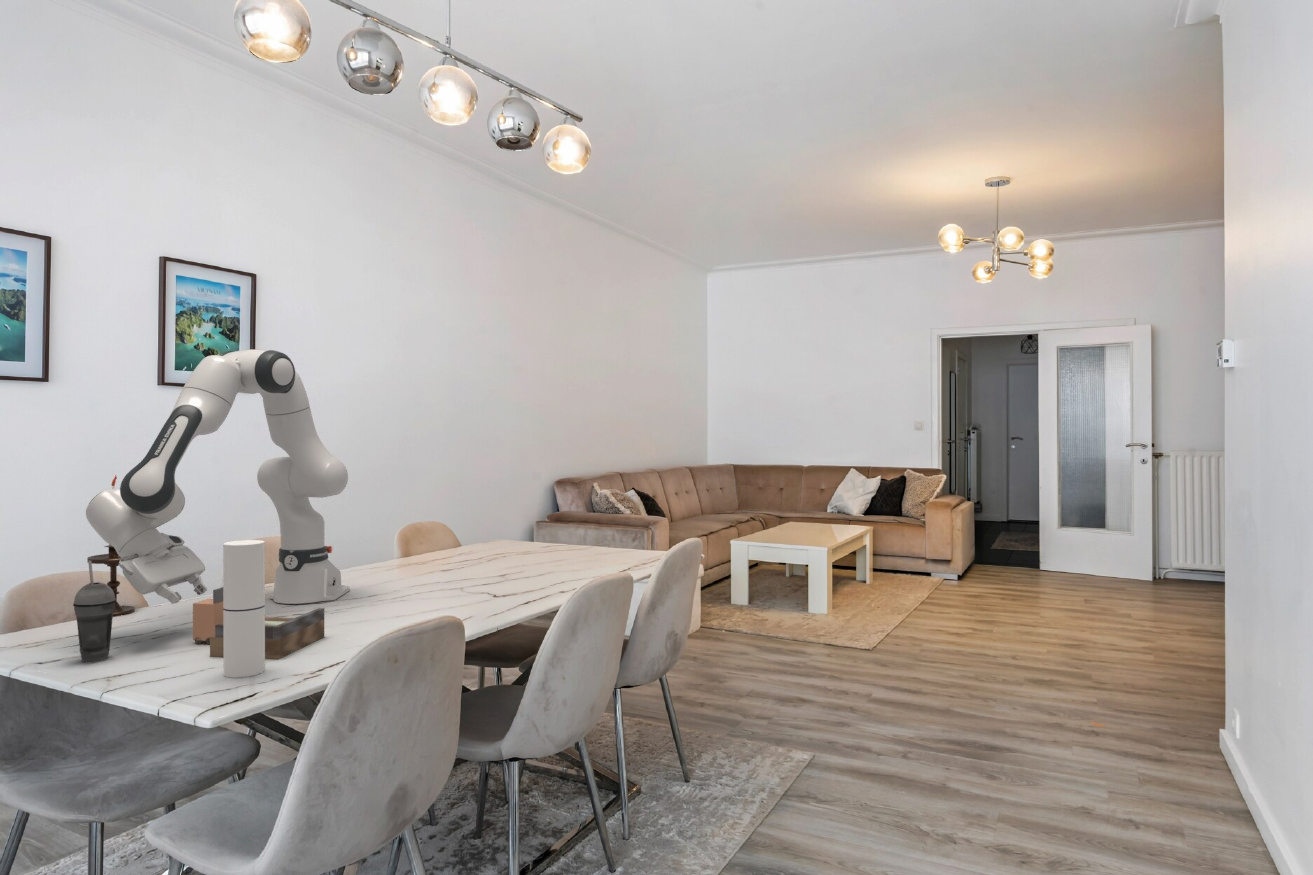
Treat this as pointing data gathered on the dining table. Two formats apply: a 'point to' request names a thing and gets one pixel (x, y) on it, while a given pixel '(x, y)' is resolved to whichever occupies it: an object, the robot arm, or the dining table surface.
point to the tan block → (207, 616)
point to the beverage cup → (94, 619)
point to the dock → (281, 634)
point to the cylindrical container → (244, 608)
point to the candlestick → (112, 573)
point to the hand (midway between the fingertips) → (191, 596)
